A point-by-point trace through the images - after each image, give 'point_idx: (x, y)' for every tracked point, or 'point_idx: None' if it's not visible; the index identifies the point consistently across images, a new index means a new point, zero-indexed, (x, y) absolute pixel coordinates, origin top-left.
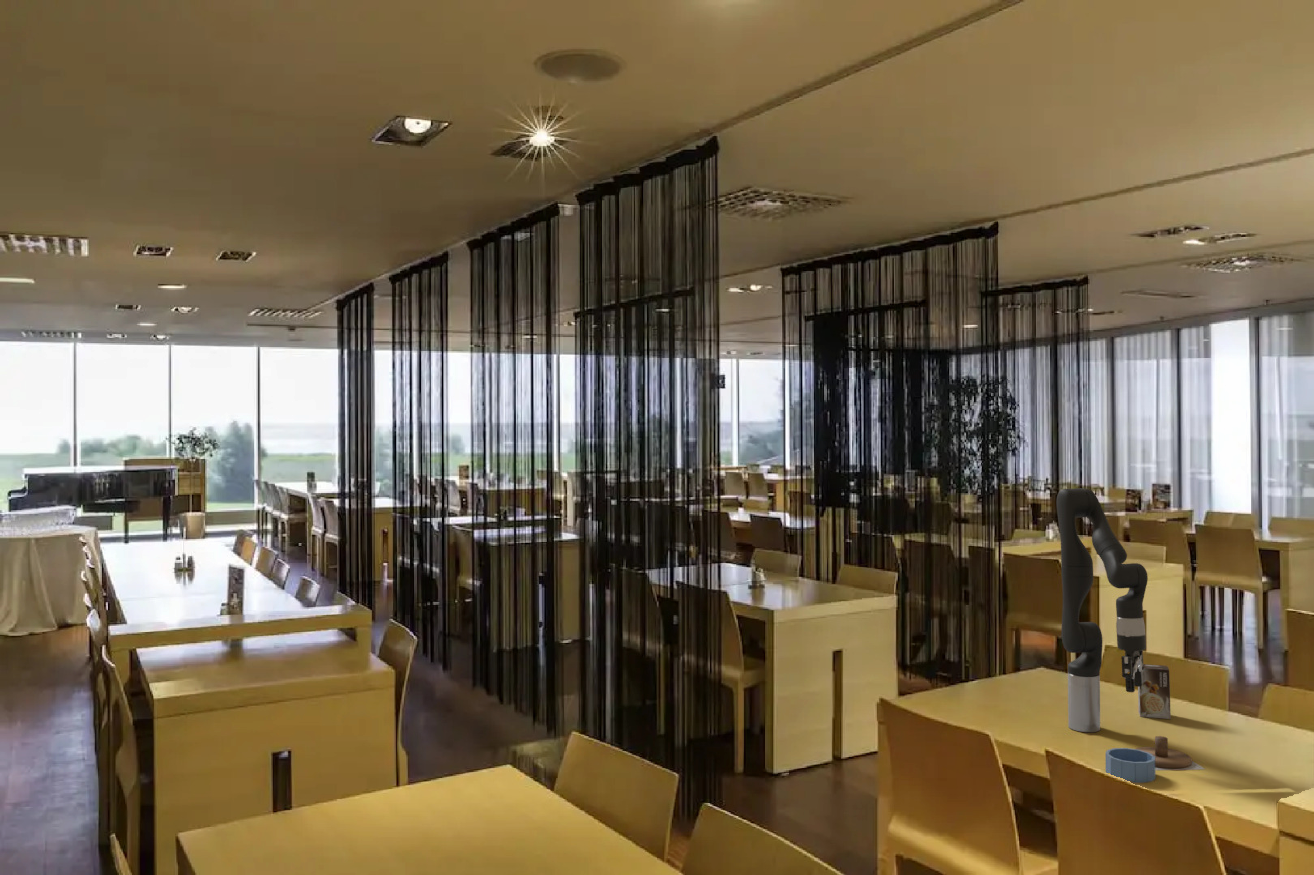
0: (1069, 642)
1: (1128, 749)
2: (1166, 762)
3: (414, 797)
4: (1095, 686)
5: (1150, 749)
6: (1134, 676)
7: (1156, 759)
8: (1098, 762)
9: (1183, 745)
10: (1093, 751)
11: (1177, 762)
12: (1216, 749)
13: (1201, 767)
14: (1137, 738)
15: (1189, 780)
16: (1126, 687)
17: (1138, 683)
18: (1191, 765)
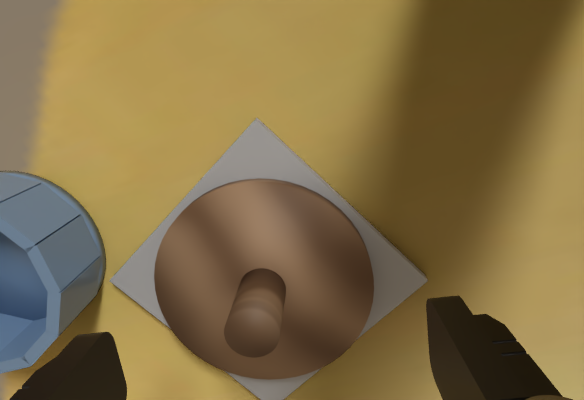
0: None
1: (30, 258)
2: (195, 325)
3: None
4: None
5: (311, 234)
6: (469, 385)
7: (201, 290)
8: (80, 95)
9: (551, 270)
10: (201, 11)
11: (225, 352)
12: (569, 368)
13: (280, 396)
14: (545, 89)
15: (155, 386)
16: (58, 363)
17: (439, 364)
18: None
